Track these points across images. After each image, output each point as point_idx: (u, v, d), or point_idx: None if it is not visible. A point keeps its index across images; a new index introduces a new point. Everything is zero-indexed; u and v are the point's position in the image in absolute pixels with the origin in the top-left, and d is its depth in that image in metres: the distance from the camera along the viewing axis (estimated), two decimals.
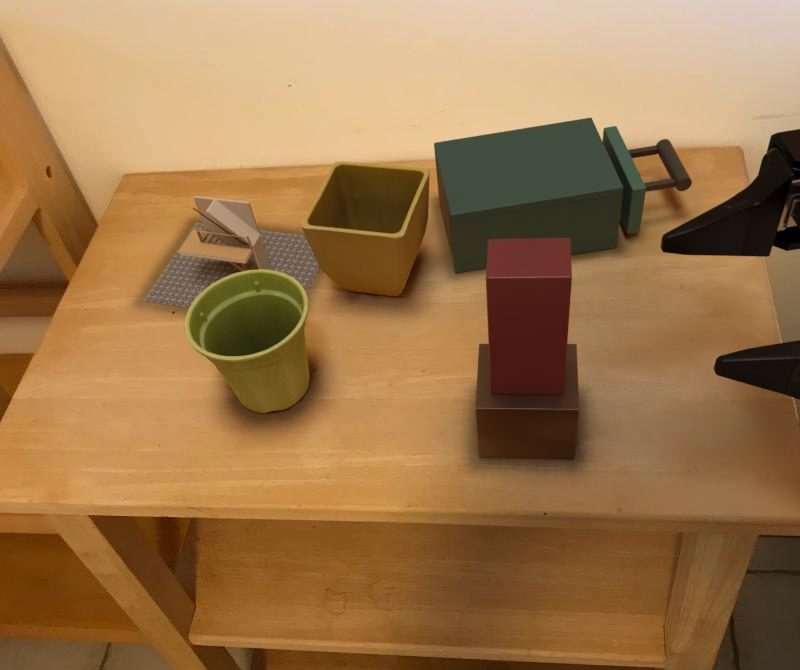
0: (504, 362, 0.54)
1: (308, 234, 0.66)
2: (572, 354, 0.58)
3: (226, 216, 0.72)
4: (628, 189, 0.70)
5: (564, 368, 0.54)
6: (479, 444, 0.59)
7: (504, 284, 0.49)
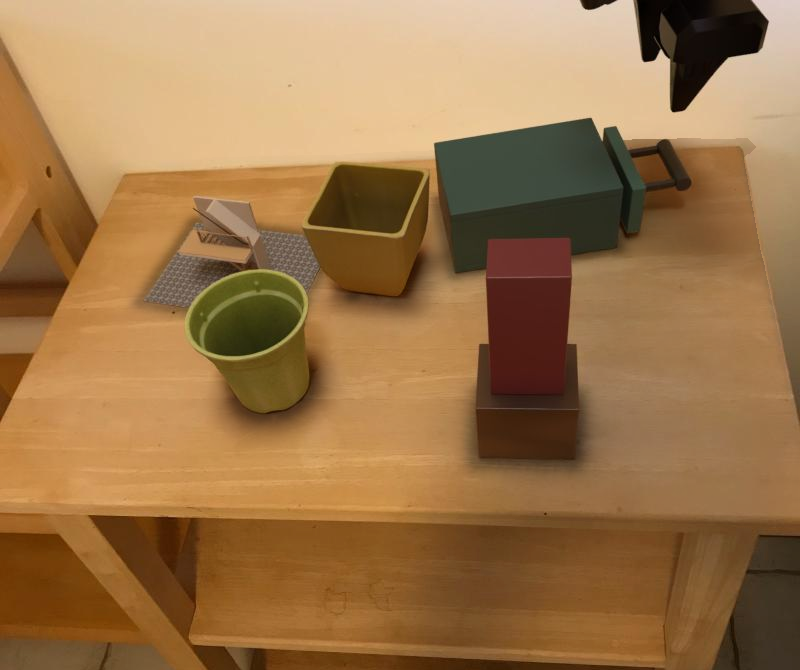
0: (504, 362, 0.54)
1: (308, 234, 0.66)
2: (572, 354, 0.58)
3: (226, 216, 0.72)
4: (628, 189, 0.70)
5: (564, 368, 0.54)
6: (479, 444, 0.59)
7: (504, 284, 0.49)
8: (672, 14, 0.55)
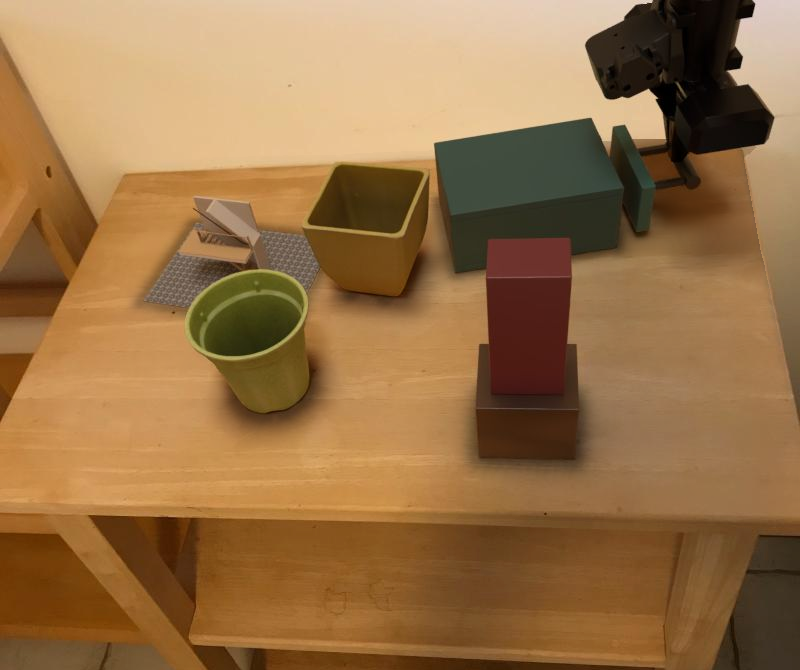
0: (504, 362, 0.54)
1: (308, 233, 0.66)
2: (572, 354, 0.58)
3: (226, 216, 0.72)
4: (637, 187, 0.70)
5: (564, 368, 0.54)
6: (479, 444, 0.59)
7: (504, 284, 0.49)
8: (687, 109, 0.61)
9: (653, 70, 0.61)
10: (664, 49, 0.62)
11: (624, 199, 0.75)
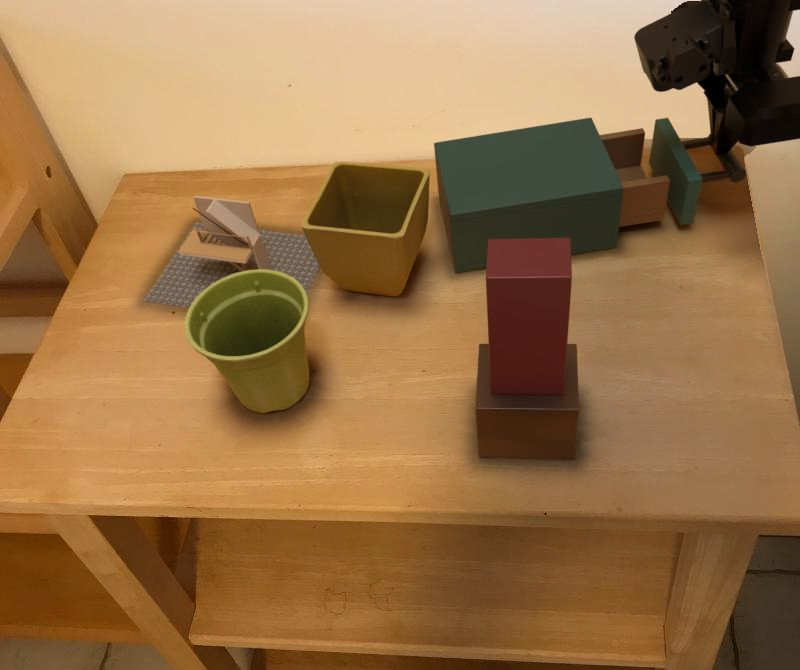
0: (504, 362, 0.54)
1: (308, 234, 0.66)
2: (572, 354, 0.58)
3: (226, 216, 0.72)
4: (683, 180, 0.70)
5: (564, 368, 0.54)
6: (479, 444, 0.59)
7: (504, 284, 0.49)
8: (740, 100, 0.61)
9: (706, 62, 0.61)
10: (716, 41, 0.62)
11: None
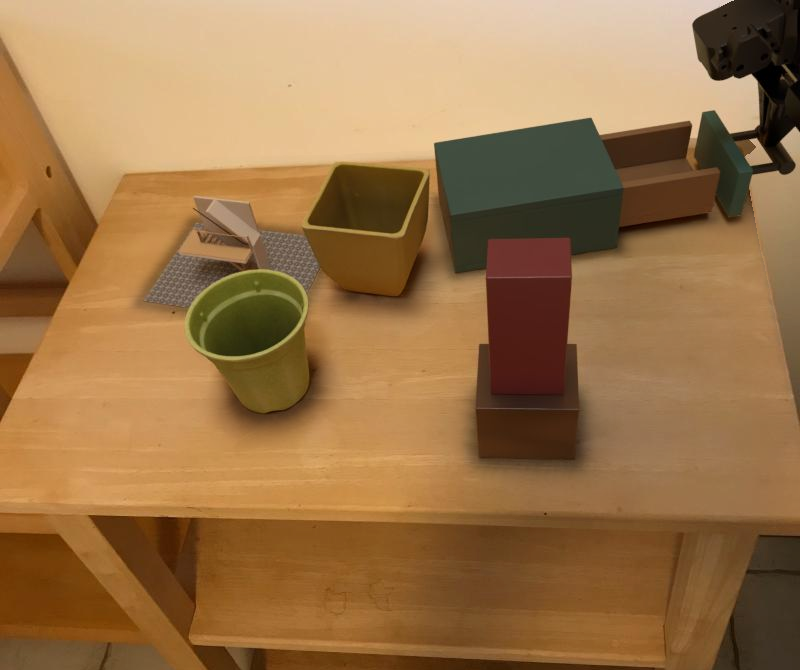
0: (504, 362, 0.54)
1: (308, 233, 0.66)
2: (572, 354, 0.58)
3: (226, 216, 0.72)
4: (733, 172, 0.70)
5: (564, 368, 0.54)
6: (479, 444, 0.59)
7: (504, 284, 0.49)
8: None
9: (768, 50, 0.61)
10: (778, 30, 0.62)
11: None
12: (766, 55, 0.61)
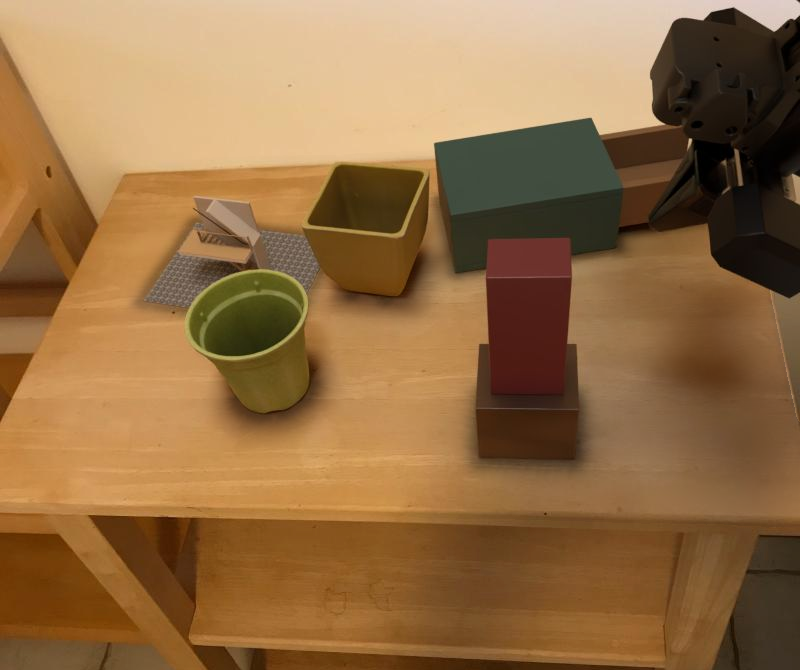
0: (504, 362, 0.54)
1: (308, 234, 0.66)
2: (572, 354, 0.58)
3: (226, 216, 0.72)
4: None
5: (564, 368, 0.54)
6: (479, 444, 0.59)
7: (504, 284, 0.49)
8: (744, 201, 0.43)
9: (741, 125, 0.41)
10: (764, 104, 0.42)
11: None
12: (734, 129, 0.42)
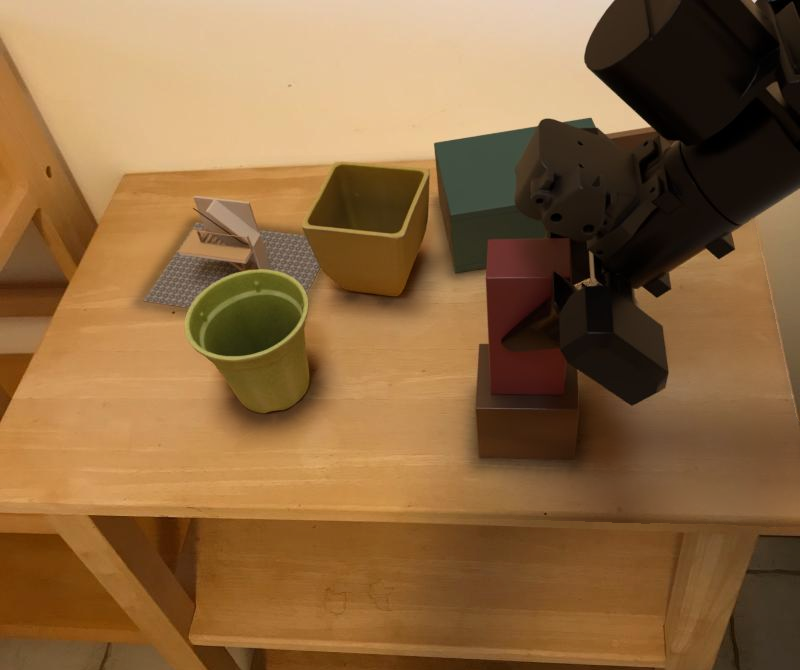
0: (504, 362, 0.54)
1: (308, 234, 0.66)
2: None
3: (226, 216, 0.72)
4: None
5: (564, 368, 0.54)
6: (479, 444, 0.59)
7: (503, 284, 0.49)
8: (595, 301, 0.42)
9: (598, 225, 0.41)
10: (620, 211, 0.43)
11: None
12: (591, 228, 0.42)
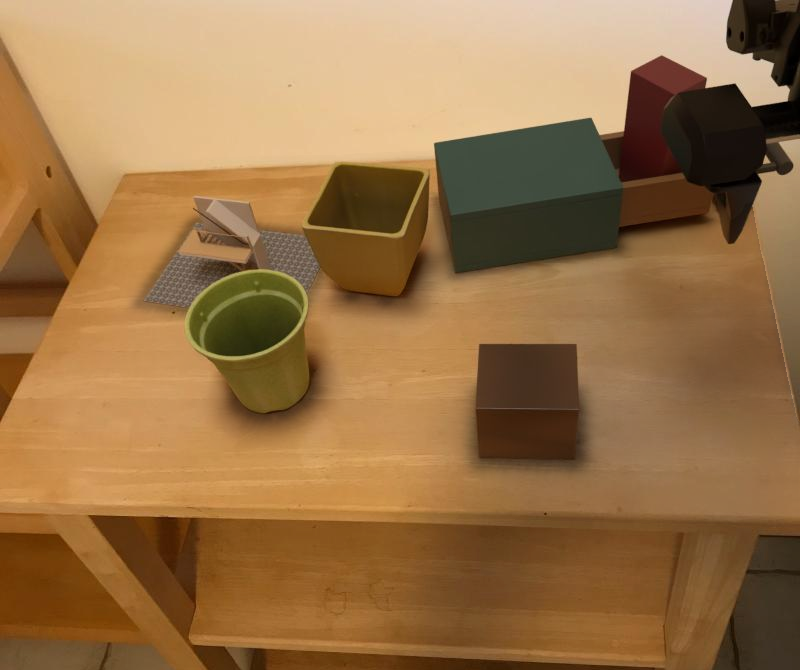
0: (629, 155, 0.73)
1: (308, 234, 0.66)
2: (572, 354, 0.58)
3: (226, 216, 0.72)
4: None
5: None
6: (479, 444, 0.59)
7: (639, 82, 0.67)
8: None
9: (744, 29, 0.48)
10: None
11: None
12: None
